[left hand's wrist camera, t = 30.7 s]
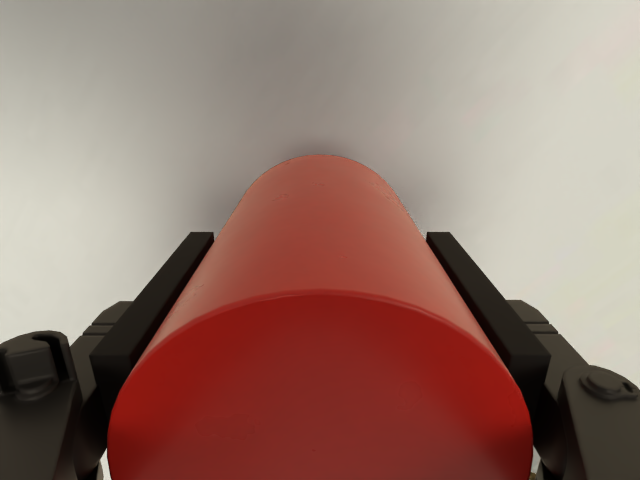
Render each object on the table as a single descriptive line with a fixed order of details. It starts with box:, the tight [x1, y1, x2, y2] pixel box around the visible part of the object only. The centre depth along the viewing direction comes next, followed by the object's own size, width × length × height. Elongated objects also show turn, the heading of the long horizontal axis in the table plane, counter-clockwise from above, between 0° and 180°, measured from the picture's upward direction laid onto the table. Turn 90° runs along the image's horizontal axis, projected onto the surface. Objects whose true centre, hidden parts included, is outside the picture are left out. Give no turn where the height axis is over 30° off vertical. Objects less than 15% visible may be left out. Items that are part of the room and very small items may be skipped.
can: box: [107, 155, 533, 480], centre depth 12 cm, size 7×7×10 cm
